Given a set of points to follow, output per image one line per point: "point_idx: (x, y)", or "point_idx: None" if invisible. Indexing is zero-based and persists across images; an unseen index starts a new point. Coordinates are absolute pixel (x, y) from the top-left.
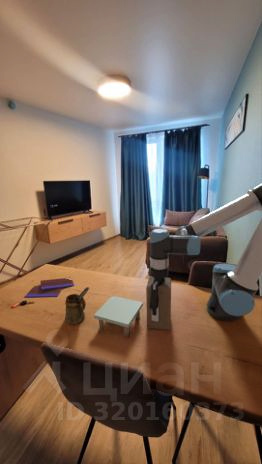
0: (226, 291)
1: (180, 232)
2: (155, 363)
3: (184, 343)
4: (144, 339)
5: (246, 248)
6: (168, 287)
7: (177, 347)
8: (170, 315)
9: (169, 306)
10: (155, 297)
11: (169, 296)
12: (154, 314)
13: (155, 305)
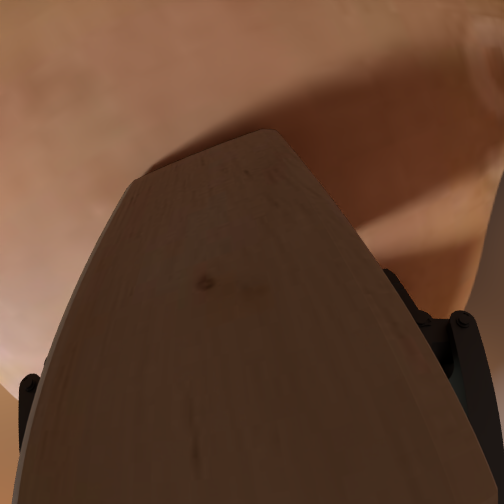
0: None
1: None
2: (486, 130)
3: (339, 12)
4: (390, 223)
5: None
6: None
7: (385, 46)
8: (284, 161)
9: (348, 224)
10: (492, 424)
11: (436, 360)
12: (394, 283)
13: (481, 347)
